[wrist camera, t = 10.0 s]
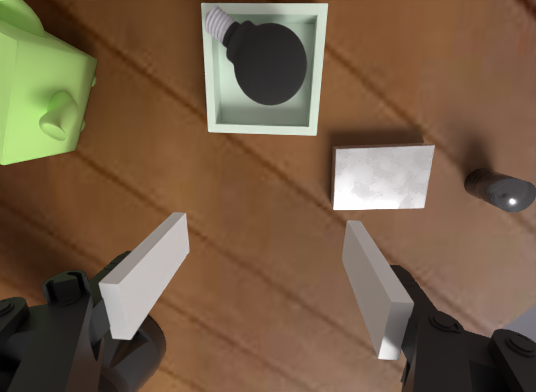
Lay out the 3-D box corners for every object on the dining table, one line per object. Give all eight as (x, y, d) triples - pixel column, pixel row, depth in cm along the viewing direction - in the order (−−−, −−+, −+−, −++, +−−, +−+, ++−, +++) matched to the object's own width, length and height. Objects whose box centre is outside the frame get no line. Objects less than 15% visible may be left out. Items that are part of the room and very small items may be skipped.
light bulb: (203, -39, 17) (319, 60, 18) (237, -21, 22) (325, 54, 23) (172, 52, 20) (270, 128, 22) (207, 48, 26) (285, 110, 27)
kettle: (77, -13, 25) (-75, -100, 14) (144, 126, 29) (65, 137, 19) (-34, 45, 27) (-232, 7, 17) (43, 165, 32) (-77, 194, 21)
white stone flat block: (330, 202, 31) (333, 209, 29) (332, 145, 29) (336, 149, 27) (413, 200, 30) (423, 207, 28) (422, 142, 28) (434, 145, 26)
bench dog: (461, 194, 29) (494, 211, 25) (469, 168, 28) (506, 180, 24) (489, 196, 29) (528, 213, 24) (499, 169, 28) (541, 182, 23)
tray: (216, 129, 29) (208, 131, 26) (211, 15, 25) (201, 3, 22) (312, 132, 28) (316, 135, 25) (322, 16, 24) (327, 3, 21)
